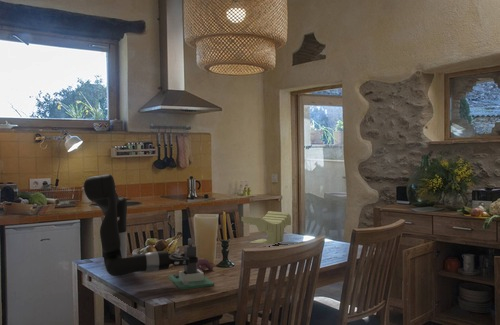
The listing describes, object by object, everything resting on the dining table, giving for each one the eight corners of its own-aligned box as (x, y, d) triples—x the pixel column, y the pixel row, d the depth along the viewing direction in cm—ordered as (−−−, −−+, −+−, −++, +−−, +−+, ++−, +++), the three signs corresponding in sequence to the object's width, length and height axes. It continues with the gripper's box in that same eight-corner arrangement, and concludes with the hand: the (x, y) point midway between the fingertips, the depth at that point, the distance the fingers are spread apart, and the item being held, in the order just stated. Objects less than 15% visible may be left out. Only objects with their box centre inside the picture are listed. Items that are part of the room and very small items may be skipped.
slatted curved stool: (265, 250, 265) (265, 218, 264) (241, 247, 274) (241, 216, 273) (291, 242, 290) (291, 212, 289) (268, 239, 299) (268, 211, 298)
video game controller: (207, 272, 222) (202, 258, 224) (214, 269, 220) (209, 255, 221) (192, 276, 214) (187, 262, 216) (199, 273, 212) (194, 258, 214)
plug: (184, 278, 201) (184, 238, 201) (195, 277, 203) (195, 237, 203) (187, 280, 198) (186, 240, 197) (198, 279, 200) (198, 239, 199)
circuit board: (168, 277, 207) (168, 268, 207) (199, 274, 212) (199, 265, 212) (180, 289, 189) (180, 279, 188) (214, 285, 194) (214, 275, 194)
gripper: (160, 255, 188) (199, 251, 194) (152, 248, 201) (189, 245, 207) (160, 274, 188) (199, 270, 195) (152, 266, 201) (189, 262, 208)
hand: (194, 257), depth 201 cm, fingers open, 8 cm apart
